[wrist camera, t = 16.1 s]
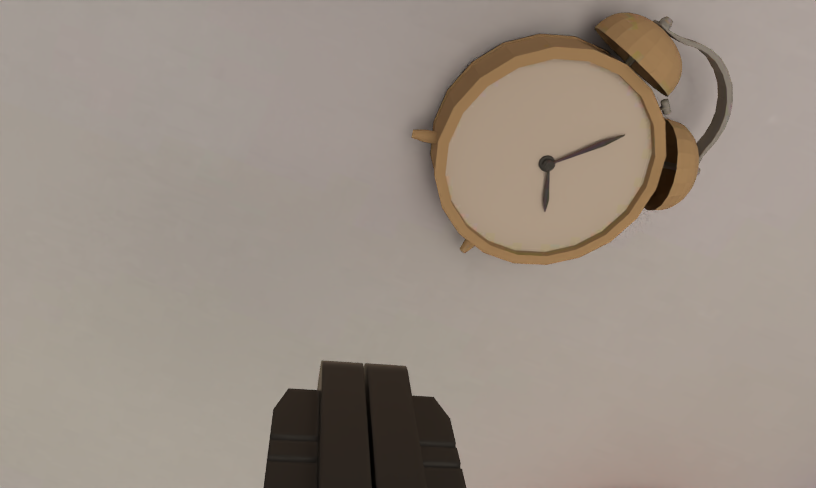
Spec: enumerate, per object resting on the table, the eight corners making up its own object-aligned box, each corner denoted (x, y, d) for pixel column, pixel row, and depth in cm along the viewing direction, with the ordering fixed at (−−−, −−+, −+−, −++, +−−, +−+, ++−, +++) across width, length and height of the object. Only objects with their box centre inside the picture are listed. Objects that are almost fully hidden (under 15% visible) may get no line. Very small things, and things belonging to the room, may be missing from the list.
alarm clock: (391, 108, 28) (738, -26, 24) (399, 77, 32) (695, -42, 28) (474, 295, 33) (769, 208, 29) (471, 247, 37) (729, 165, 34)
